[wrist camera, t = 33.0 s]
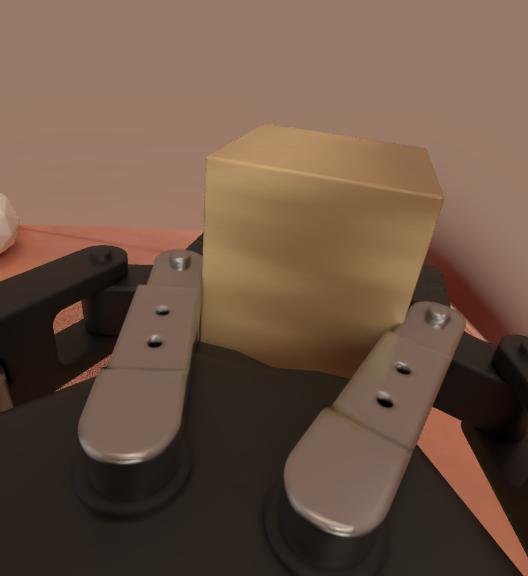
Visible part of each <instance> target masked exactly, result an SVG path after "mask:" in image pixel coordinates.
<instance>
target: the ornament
mask: <svg viewBox="0 0 528 576" xmlns="http://www.w3.org/2000/svg"><path fill="white" fill-rule="evenodd" d="M18 223H19V219H18V217H17V214H16V212H15V209H14V207H13V205H12V204H11V202H10V201H9V200H8V198H7V197H6V196H5V195H3V194H1V193H0V254H1V253H2V252H4V251H5V250H6V249H8V248H9V247H10V246H12V245H13V244H14V243H15V239H16V234H17V228H18Z"/></svg>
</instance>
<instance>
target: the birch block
mask: <svg viewBox="0 0 528 576" xmlns="http://www.w3.org/2000/svg"><path fill="white" fill-rule="evenodd" d="M205 170H206V171H205V200H204V232H203V264H202V279H203V292H202V303H201V327H200V342H204V343H208V344H212V345H216V346H220V347H224V348H228V349H232V350H236V351H238V352H240V353H242V354H245V355H247V356H249V357H251V358H253V359H256V360H258V361H260V362H262V363H264V364H267V365H269V366H271V367H275V368H284V369H298V370H311V371H320V372H324V373H328V374H332V375H336V376H340V377H344V378H348V379H351V378H352V377H353V375H354V374H355V373H356V371H357V370H358V369H359V367H360V366H361V364H362V363H363V362H364V360H365V359H366V357H367V356H368V355H369V353H370V352H371V351H372V349H373V348H374V346H375V345H376V344H377V342H378V341H379V339H380V338H381V337H382V335H383V334H384V333H385V331H387V330H388V331H391V332H393V331H394V330H395V329H396V327H397V326H398V324H399V323H404V320H405V317H406V314H407V311H408V308H409V305H410V302H411V299H412V296H413V293H414V290H415V287H416V284H417V281H418V278H419V275H420V272H421V269H422V265H423V262H424V259H425V256H426V253H427V250H428V247H429V244H430V241H431V238H432V235H433V232H434V229H435V226H436V223H437V219H438V216H439V214H440V210H441V207H442V204H443V201H444V196H443V193H442V190H441V188H440V185H439V182H438V179H437V177H436V174H435V171H434V169H433V166H432V163H431V160H430V158H429V155H428V152H427V149H425V148H421V147H414V146H407V145H401V144H395V143H388V142H382V141H375V140H369V139H362V138H356V137H349V136H342V135H336V134H329V133H323V132H316V131H310V130H303V129H297V128H290V127H284V126H277V125H270V124H263V125H262V126H260V127H258V128H256V129H254V130H253V131H251V132H249V133H247V134H245V135H244V136H242V137H240V138H238V139H237V140H235V141H233V142H231V143H229V144H228V145H226V146H224V147H222V148H220V149H218V150H217V151H215V152H213V153H212V154H210V155H208V156H207V157H206V168H205Z"/></svg>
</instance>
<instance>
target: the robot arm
mask: <svg viewBox="0 0 528 576" xmlns="http://www.w3.org/2000/svg"><path fill="white" fill-rule="evenodd" d="M202 264H203V233H202V235H200V236H199V237H198V238H197V240H195V241H194V242H193V243H192V244H191V245H190V246H189V247H188V248H187V249H186V250H170V251H166V252H163V253H161V254H159V255H158V256H157V257H156V259H155V262H154V265H131V264H128V258H127V253H126V251H124V250H123V249H121V248H118V247H115V246H107V245H100V246H92V247H88V248H85V249H82V250H80V251H77V252H74V253H72V254H69V255H67V256H64V257H62V258H59V259H57V260H54V261H52V262H49V263H46V264H44V265H41V266H39V267H36V268H34V269H31V270H29V271H26V272H24V273H21V274H18V275H16V276H13V277H11V278H8V279H6V280H3V281H1V282H0V576H523V575H522V573H521V572H520V571H519V570H518V568H517V567H516V566H515V565H514V563H513V562H512V561H511V560H510V559H509V557H508V556H507V555H506V554H505V552H504V551H503V550H502V549H501V547H500V546H499V545H498V544H497V543H496V541H495V540H494V539H493V538H492V536H491V535H490V534H489V533H488V531H487V530H486V529H485V528H484V526H483V525H482V524H481V523H480V522H479V520H478V519H477V518H476V517H475V515H474V514H473V513H472V512H471V510H470V509H469V508H468V507H467V506H466V504H465V503H464V502H463V501H462V499H461V498H460V497H459V496H458V494H457V493H456V492H455V491H454V489H453V488H452V487H451V486H450V485H449V483H448V482H447V481H446V480H445V478H444V477H443V476H442V475H441V473H440V472H439V471H438V470H437V469H436V467H435V466H434V465H433V464H432V462H431V461H430V460H429V459H428V457H427V456H426V455H425V454H424V453H423V451H422V450H421V449H420V448H419V446H418V445H417V442H418V439H419V437H420V435H421V432H422V430H423V427H424V425H425V423H426V420H427V418H428V415H429V413H430V411H431V408H432V407H434V408H437V409H439V410H441V411H443V412H445V413H447V414H449V415H451V416H453V417H455V418H457V419H459V420H461V421H462V422H461V428H462V431H463V433H464V435H465V437H466V439H467V441H468V443H469V445H470V447H471V449H472V450H473V452H474V454H475V456H476V458H477V460H478V462H479V464H480V466H481V468H482V470H483V472H484V474H485V475H486V477H487V479H488V481H489V483H490V485H491V487H492V489H493V491H494V493H495V495H496V497H497V499H498V500H499V502H500V504H501V506H502V508H503V510H504V512H505V514H506V516H507V518H508V520H509V522H510V524H511V526H512V527H513V529H514V531H515V533H516V535H517V537H518V539H519V541H520V543H521V545H522V547H523V549H524V551H525V552H526V554H527V556H528V337H526V336H522V335H507V336H504V337H502V338H501V340H500V342H499V344H498V346H495V345H493V344H490V343H488V342H485V341H483V340H480V339H478V338H476V337H474V336H472V335H470V334H468V333H467V332H465V331H464V329H465V327H466V321H465V319H464V318H463V317H462V316H461V315H460V314H459V313H458V312H457V311H455V310H453V309H452V308H451V307H450V303H449V298H448V294H447V292H446V291H447V290H446V286H445V281H444V277H443V275H442V274H441V273H440V272H439V271H438V270H437V269H436V268H435V267H434V266H429V265H424V264H423V265H422V269H421V272H420V275H419V278H418V281H417V284H416V287H415V290H414V293H413V296H412V299H411V302H410V305H409V308H408V311H407V314H406V317H405V320H404V323H399V324H398V326H397V327H396V329H395V330H394V331H393V332H391V331H388V330H387V331H385V333H384V334H383V335H382V337H381V338H380V339H379V341H378V342H377V344H376V345H375V346H374V348H373V349H372V351H371V352H370V353H369V355H368V356H367V357H366V359H365V360H364V362H363V363H362V364H361V366H360V367H359V369H358V370H357V371H356V373H355V374H354V375H353V377H352V378H351V379H348V378H344V377H340V376H336V375H332V374H328V373H324V372H320V371H311V370H298V369H284V368H275V367H271V366H269V365H267V364H264V363H262V362H260V361H258V360H256V359H253V358H251V357H249V356H247V355H245V354H242V353H240V352H238V351H236V350H232V349H228V348H224V347H220V346H216V345H212V344H208V343H204V342H200V327H201V303H202V292H203V279H202ZM80 300H81V302H82V309H83V317H84V319H82V320H80V321H79V322H77V323H75V324H73V325H71V326H69V327H68V328H66V329H64V330H62V331H60V332H58V333H57V334H55V335H54V330H53V322H54V319H55V317H56V315H57V314H58V313H59V312H60V311H61V310H63V309H64V308H66V307H68V306H70V305H72V304H74V303H76V302H78V301H80ZM110 354H112V355H111V358H110V361H109V363H108V365H107V367H103V368H101V369H100V371H99V372H98V375H97V376H96V377H93V378H90V379H88V380H85V381H82V382H80V383H77V384H74V385H72V386H69V387H66V388H64V389H61V390H58V389H59V388H61V387H62V386H64V385H65V384H67V383H68V382H70V381H71V380H73V379H74V378H76V377H77V376H79V375H80V374H82V373H83V372H85V371H86V370H88V369H89V368H91V367H92V366H94V365H95V364H97V363H98V362H100V361H101V360H103V359H104V358H106V357H107V356H109V355H110ZM56 390H58V391H56ZM55 391H56V392H55Z"/></svg>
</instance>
